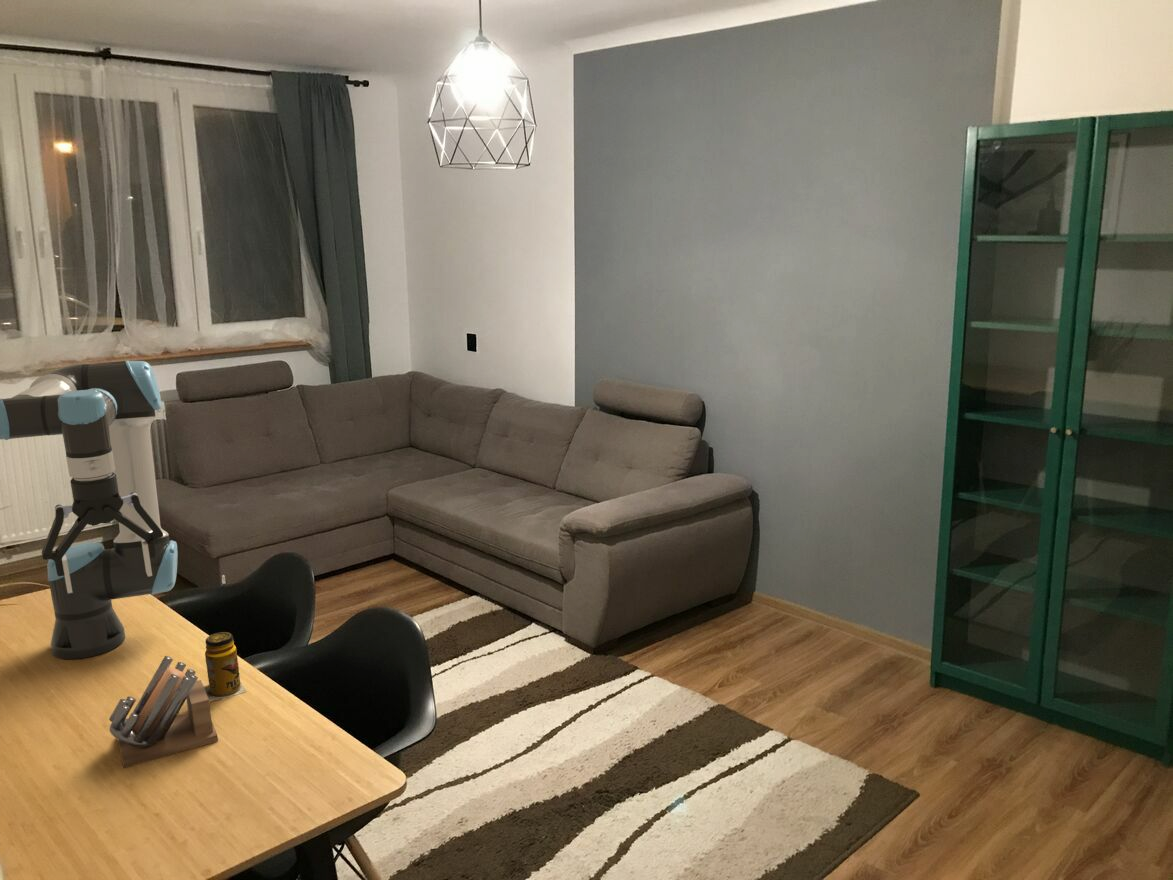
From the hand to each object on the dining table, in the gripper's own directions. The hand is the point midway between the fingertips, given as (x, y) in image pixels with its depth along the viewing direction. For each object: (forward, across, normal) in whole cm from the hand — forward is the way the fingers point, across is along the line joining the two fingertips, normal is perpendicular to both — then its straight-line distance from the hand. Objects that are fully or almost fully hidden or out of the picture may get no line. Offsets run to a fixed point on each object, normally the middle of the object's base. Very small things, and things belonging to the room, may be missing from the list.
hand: (110, 582), depth 176 cm
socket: (+28, +3, -13) cm, 31 cm away
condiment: (+29, +17, 0) cm, 33 cm away
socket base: (+28, +4, -13) cm, 31 cm away
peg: (+25, +1, -13) cm, 28 cm away
